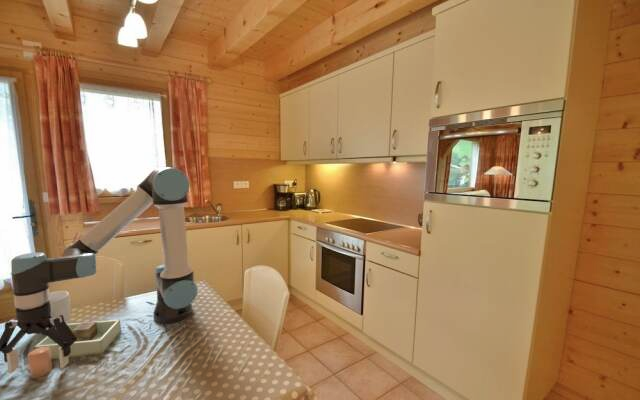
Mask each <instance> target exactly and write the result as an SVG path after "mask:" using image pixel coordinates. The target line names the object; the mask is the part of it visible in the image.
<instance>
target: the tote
mask: <svg viewBox="0 0 640 400" xmlns="http://www.w3.org/2000/svg"><path fill="white" fill-rule="evenodd" d="M87 322H88V321H86V322H84V323H87ZM95 322H96V324H97V335H96V336H95V337H94V338H93V339H92V340H89V341H79V342H74V343H73V344H72V345H71V346H70V349H71V353H70V354H69V355H68V358H69V359H70V358H76V357H77V358H78V357H85V356H87V357H88V356H96V355H102V354H103V353H104V352H106V349H107V348H109V346H110V345H111V344H112V343H113V341H115V339H116V338H117V337H118V336H119V335H120V333H121V332H122V326H121V325H122V324H121V319H109V320H99V321H97V320H96V321H95ZM81 323H82V322H77V323H76V322H75V323H66V324H67V325H68V327H69V328H70V330H71V331H72V332H73V330H74V329H75V328H76V327H77V326H78V325H80V324H81ZM64 343H65V342H64ZM41 347H50V352H51V360H57V359H59V348H60V347H61V346H59V345H58V344H57V343H56V342H54V341H53V340H52V339H50V338H49V337H48V336H47V335H46V337H44V338H43V339H42V340H40V342H38V343H37V344H35V345H34V346H33V350H35V349H38V348H41ZM59 360H60V359H59Z"/></svg>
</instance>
